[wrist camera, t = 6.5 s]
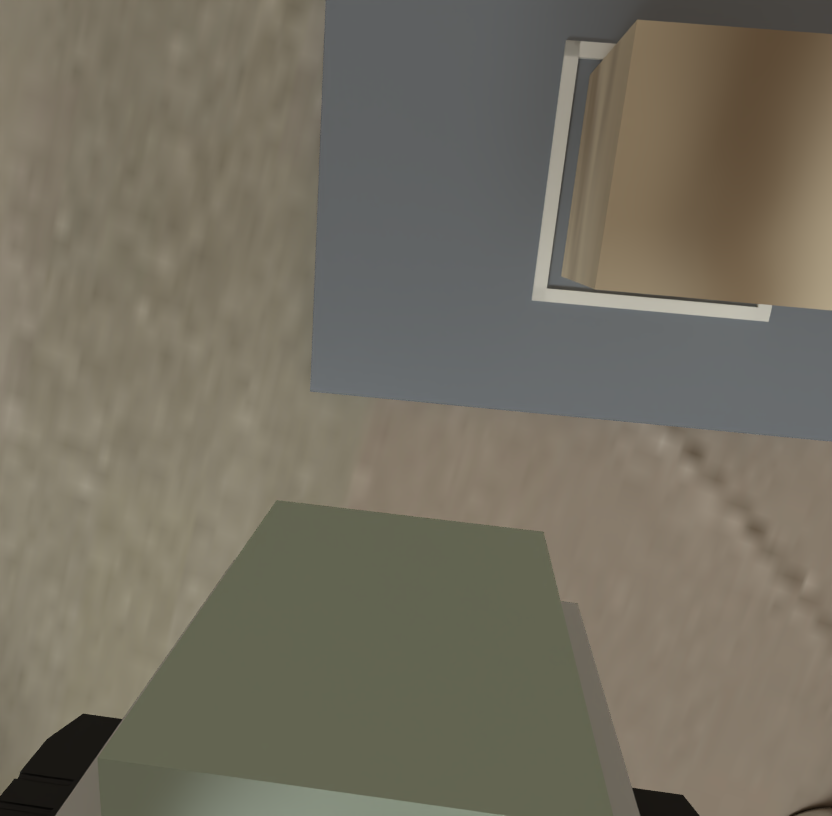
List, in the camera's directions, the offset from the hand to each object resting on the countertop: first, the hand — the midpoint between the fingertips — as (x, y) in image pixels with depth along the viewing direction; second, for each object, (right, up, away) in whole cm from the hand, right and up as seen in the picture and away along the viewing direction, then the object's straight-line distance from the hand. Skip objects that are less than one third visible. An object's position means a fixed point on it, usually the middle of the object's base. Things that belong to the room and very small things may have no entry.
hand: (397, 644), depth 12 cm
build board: (+8, +12, +13) cm, 19 cm away
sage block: (0, 0, 0) cm, 0 cm away
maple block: (+10, +13, +11) cm, 19 cm away
